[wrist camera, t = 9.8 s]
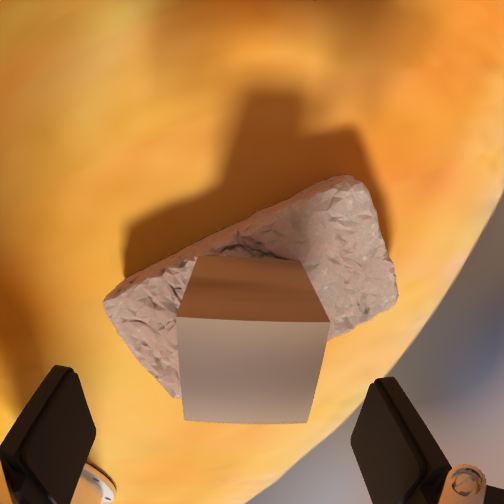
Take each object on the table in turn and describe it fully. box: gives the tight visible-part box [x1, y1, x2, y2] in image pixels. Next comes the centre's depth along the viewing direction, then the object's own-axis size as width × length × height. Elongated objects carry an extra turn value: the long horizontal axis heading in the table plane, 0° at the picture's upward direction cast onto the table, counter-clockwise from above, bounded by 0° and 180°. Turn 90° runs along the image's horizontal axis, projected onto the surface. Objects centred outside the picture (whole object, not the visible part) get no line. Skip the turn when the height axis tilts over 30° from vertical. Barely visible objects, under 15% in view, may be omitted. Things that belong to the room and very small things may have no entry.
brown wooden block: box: [176, 255, 331, 424], centre depth 14 cm, size 5×5×6 cm
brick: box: [103, 175, 399, 399], centre depth 19 cm, size 16×8×5 cm, turn 116°
